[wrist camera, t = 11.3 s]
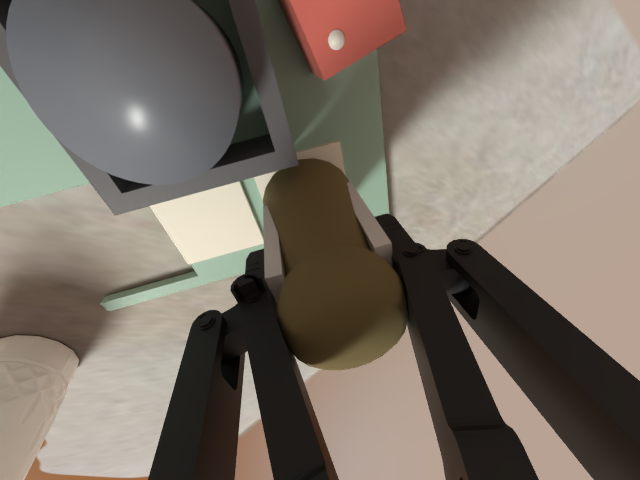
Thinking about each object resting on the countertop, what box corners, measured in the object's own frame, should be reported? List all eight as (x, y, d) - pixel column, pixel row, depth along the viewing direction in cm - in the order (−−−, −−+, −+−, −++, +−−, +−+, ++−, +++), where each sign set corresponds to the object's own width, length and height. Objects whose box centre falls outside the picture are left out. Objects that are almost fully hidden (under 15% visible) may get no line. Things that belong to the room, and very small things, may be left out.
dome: (47, 7, 12) (-62, -12, 8) (208, -35, 12) (182, -75, 8) (143, 163, 16) (104, 203, 12) (262, 131, 16) (263, 160, 12)
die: (272, -13, 13) (277, -31, 10) (346, -63, 13) (375, -99, 10) (311, 73, 16) (325, 80, 13) (375, 33, 15) (406, 30, 12)
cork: (370, 197, 19) (464, 328, 10) (310, 253, 21) (348, 404, 12) (306, 136, 16) (363, 250, 7) (243, 208, 18) (229, 367, 9)
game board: (-169, 23, 12) (-349, 14, 9) (359, -112, 13) (400, -174, 9) (112, 304, 23) (85, 351, 20) (386, 226, 24) (409, 259, 20)
